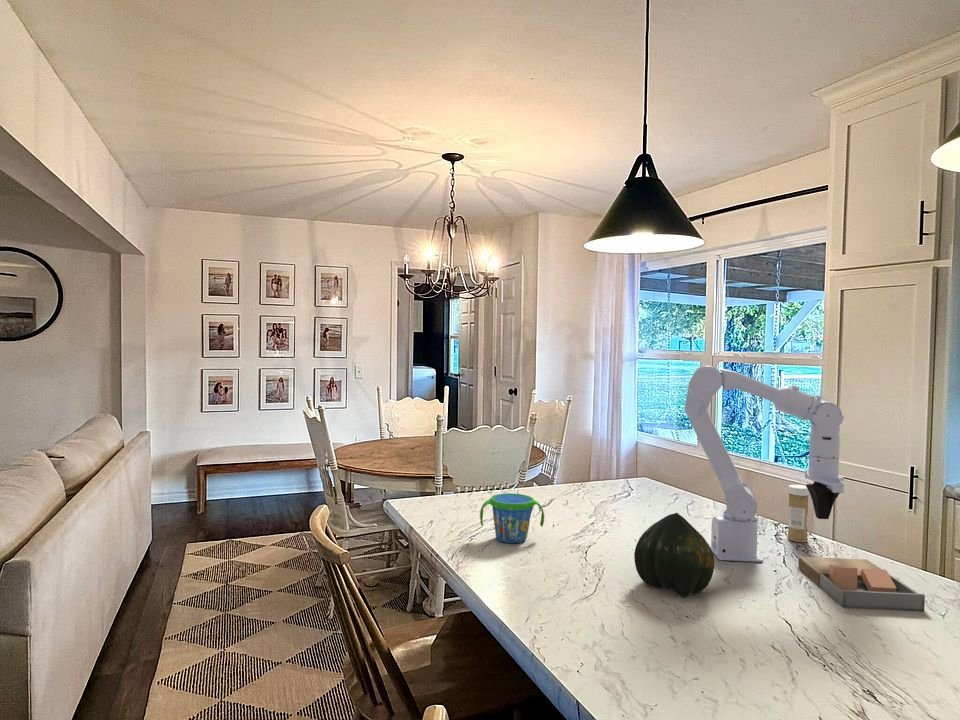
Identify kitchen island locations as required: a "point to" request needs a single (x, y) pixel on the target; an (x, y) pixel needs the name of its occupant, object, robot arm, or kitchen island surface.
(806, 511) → the sprinkles bottle
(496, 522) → the snack cup
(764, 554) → the kitchen island surface
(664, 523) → the squash
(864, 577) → the tile right
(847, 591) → the tray
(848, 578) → the tile left
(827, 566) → the walnut board
